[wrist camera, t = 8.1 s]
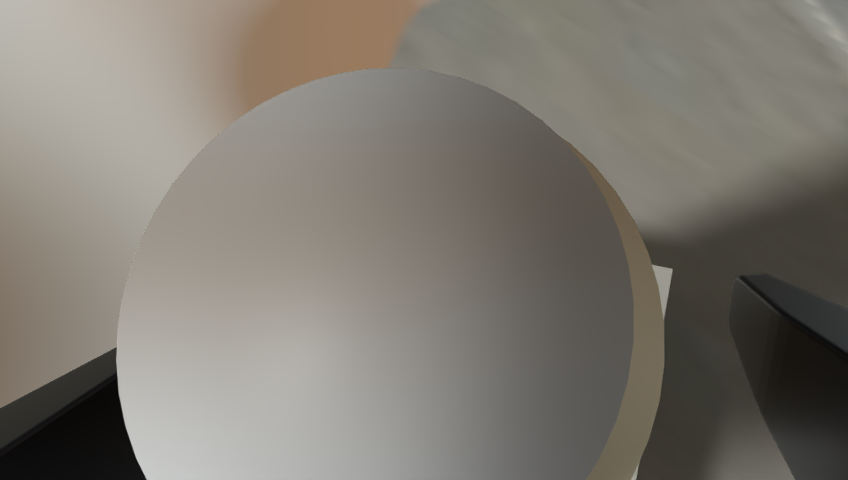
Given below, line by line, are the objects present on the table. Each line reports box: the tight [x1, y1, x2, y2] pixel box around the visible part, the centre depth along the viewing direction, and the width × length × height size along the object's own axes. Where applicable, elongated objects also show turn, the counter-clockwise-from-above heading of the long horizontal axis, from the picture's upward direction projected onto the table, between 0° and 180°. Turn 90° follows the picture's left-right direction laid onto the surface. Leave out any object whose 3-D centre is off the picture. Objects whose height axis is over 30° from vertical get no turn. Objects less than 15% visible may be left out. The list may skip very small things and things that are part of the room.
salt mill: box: [116, 68, 665, 480], centre depth 10 cm, size 5×5×13 cm
